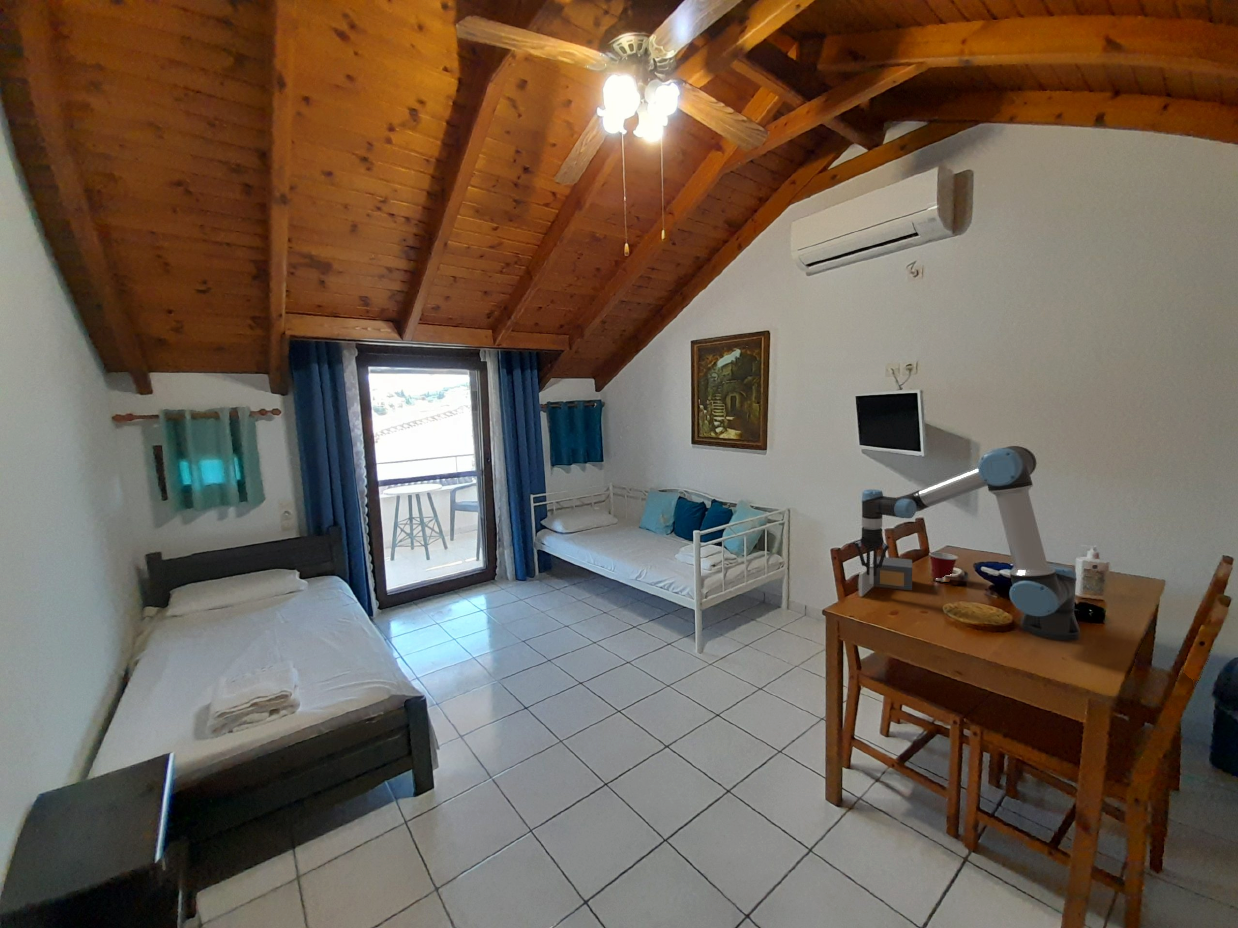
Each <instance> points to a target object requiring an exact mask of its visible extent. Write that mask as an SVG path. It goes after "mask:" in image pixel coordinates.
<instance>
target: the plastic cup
mask: <svg viewBox="0 0 1238 928" xmlns="http://www.w3.org/2000/svg"><path fill="white" fill-rule="evenodd" d="M928 555H929V558H930V561H931V570H932V575H933V579H936V578H942V577H944V576H945V575H950V574H952V575H953V572H954V571H953V570H954V568H955V564H956V562H957V560H958V559H959V557H958V556H957V555H955V554H951V553H946V552H938V551H931V552H929V553H928Z"/></svg>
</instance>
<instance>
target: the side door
mask: <svg viewBox="0 0 1238 928" xmlns="http://www.w3.org/2000/svg"><path fill="white" fill-rule="evenodd" d="M870 567H873V564H872V563H870ZM858 575H859V576H858V579H857V590H858V596H859V597H860V598H861V597H862V598H863V597H864V595H865V594H867V593H868V592H869V591H870V590H871V589H873V588H874V587H875V586H874V583H873V584H869V582H870V575H867V568H866V567H865V568H864V569H863V570H862V571H860V572H859V574H858Z"/></svg>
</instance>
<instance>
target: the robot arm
mask: <svg viewBox="0 0 1238 928" xmlns="http://www.w3.org/2000/svg"><path fill="white" fill-rule="evenodd" d="M1037 464H1038V463H1037V458H1036V456H1035V455H1034V453H1033V452H1032V451H1031V450H1029V449H1028V448H1027V447H1023V446H1019V445H1011V446H1006V447H999V448H995V449H992V450H990V451H987V452H986V453H985V454H984V455H982V457H981V458H980V459H979V461H978V464H977V466H975V467H973V468H970V469H968V470H965V471H962V472H960V473H958V474H956V475H953V476H950V477H948V478H946V479H943V480H940V481H938V482H936V483H933V484H931V485H928V486H926V487H924V488H921V489H919V490H915V491H913V492H910V493H908V494H906V495H905V494H904V495H901V496H897V497H893V496H885V495H884V493H883V491H882V490H881V489H873V488H872V489H871V488H870V489H869V488H868V489H865V490H863V491H862V494H861V495H862V496H861V526H862V527H861V538H860V540H858V541H855V542H854V546H855V548H856V549H857V552H858V555H859V556H858V557H859V559H860V564H861V566H862V567H865V569H866V568H867V575H870V582H869V584H873V583H874V576H876V575H877V568H881V567H882V564H883V560H884V557H886V552H887V551H888V550H889V549H890V544H888V543H886V542H884V539H883V528H882V527H883V516H888V517H895V518H900V519H912V518H913V517H914V516H915V515H916V513H918V512H921V511H923V510H925V509H928V508H930V507H933V506H936V505H938V504H941V503H944V502H946V501H949V500H953V499H955V498H957V497H960V496H963V495H966V494H969V493H971V492H974V491H977V490H980V489H983V488H984V487H987V489H988V492H989V493H990V494H992V495H994V496H995V498H996V502H997V506H998V510H999V514H1000V517H1001V522H1002V525H1003V530H1004V534H1005V538H1006V542H1007V545H1008V546H1007V547H1008V550H1009V553H1010V557H1011V561H1012V565H1013V567H1012V568H1011V570H1010V571H1009V576H1010V579H1011V580H1010V581H1011V584H1012V586H1010V589H1009V592H1008V593H1009V599H1010V601H1011V603H1012V604H1013V606H1015V607H1016V608H1017V610H1020V611H1021V612H1022V613H1024V614H1023V615H1022V616H1021V621H1020V626H1021V628H1022V629H1023V630H1024V631H1026V632H1027V633H1029V634H1031V635H1034V636H1038V637H1039V638H1044V639H1049V640H1051V641H1059V642H1060V641H1061V642H1075V641H1078V640H1079V639H1080V638H1081V628H1080V626H1079V623H1078V622H1077V619H1076V615H1075V603H1076V602H1075V601H1076V599H1075V598H1076V585H1077V580H1078V579H1077V572H1076V571H1075V570H1074V569H1073V568H1070V567H1067V566H1064V565H1058V564H1052V563H1048V562H1047V558H1046V554H1045V550H1044V546H1043V544H1042V543H1043V542H1042V538H1041V536H1040V531H1039V528H1038V523H1037V519H1036V516H1035V513H1034V508H1033V503H1032V500H1031V496H1030V493H1029V492H1030V489H1031V488H1033V481H1032V477H1031V475H1032V474H1033V473H1034V472H1035V470H1036V469H1037ZM862 546H863V547H864V548H865V549H866V551H865V552H866V561H865V557H864V553H863V549H862ZM881 547H882V551H881V555H880V556H879V557H880V561H879V564H877V556H878V550H879V549H880V548H881ZM871 550H872V551H873V557H872V563H873V567H870V565H871Z"/></svg>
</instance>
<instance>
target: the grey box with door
mask: <svg viewBox="0 0 1238 928" xmlns="http://www.w3.org/2000/svg"><path fill="white" fill-rule="evenodd" d="M880 557H881V556H879V555H877V564H879V561H880ZM871 564H873V562H872V563H871ZM877 586H880V587H879V588H888V589H894V590H902V591H903V590H904V591H911V592H912V591H913V559H908V558H899V557H898V558H897V557H888V556H887V557H886V556H885V557H884V560H883V564H882V567H881V568H877V575H876V576H874V586H873V587H877Z"/></svg>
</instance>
